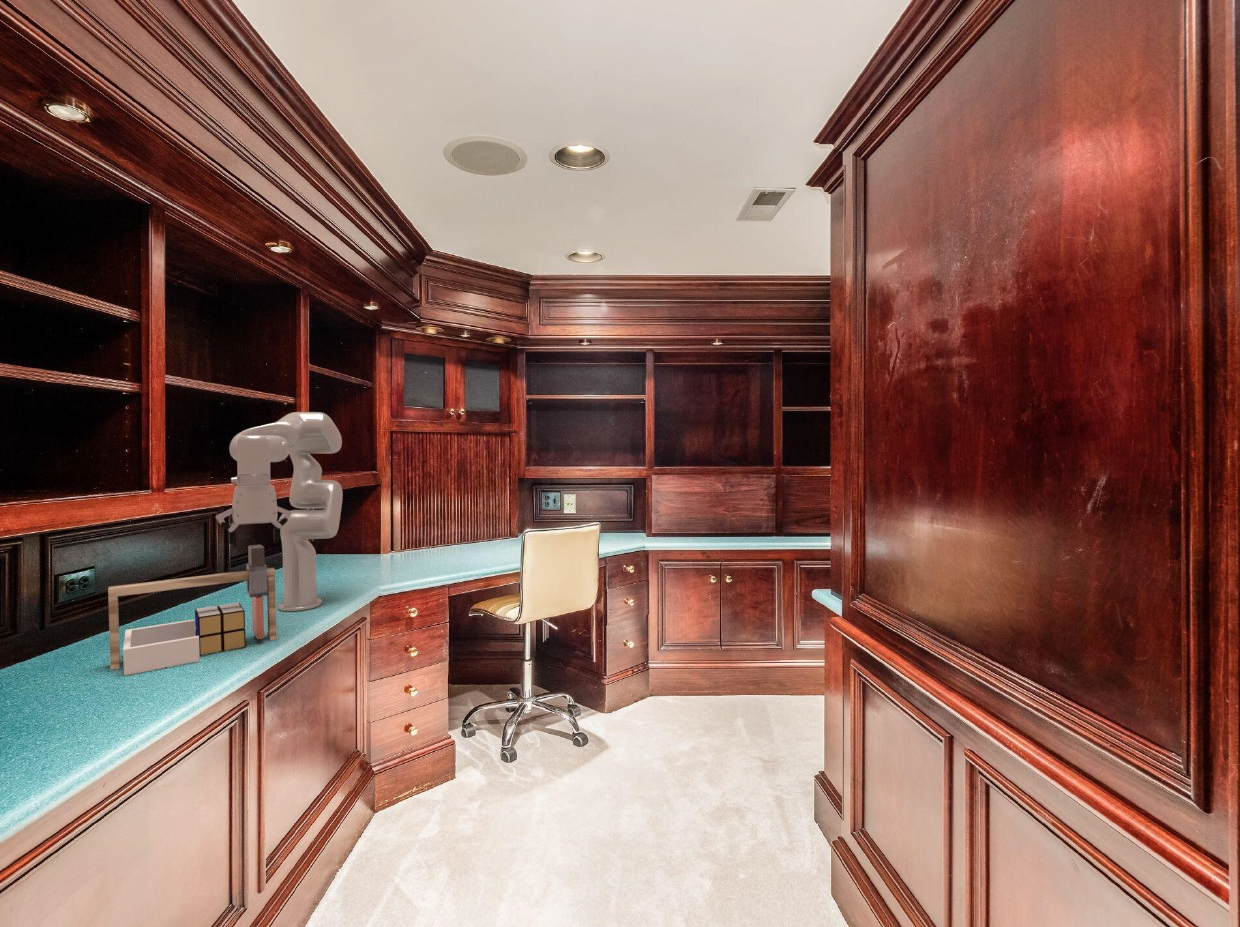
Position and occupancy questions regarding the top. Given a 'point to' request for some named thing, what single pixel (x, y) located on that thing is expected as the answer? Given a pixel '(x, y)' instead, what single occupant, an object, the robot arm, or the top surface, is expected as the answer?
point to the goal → (160, 647)
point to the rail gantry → (178, 584)
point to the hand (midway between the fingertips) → (255, 544)
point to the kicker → (257, 587)
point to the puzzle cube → (220, 628)
